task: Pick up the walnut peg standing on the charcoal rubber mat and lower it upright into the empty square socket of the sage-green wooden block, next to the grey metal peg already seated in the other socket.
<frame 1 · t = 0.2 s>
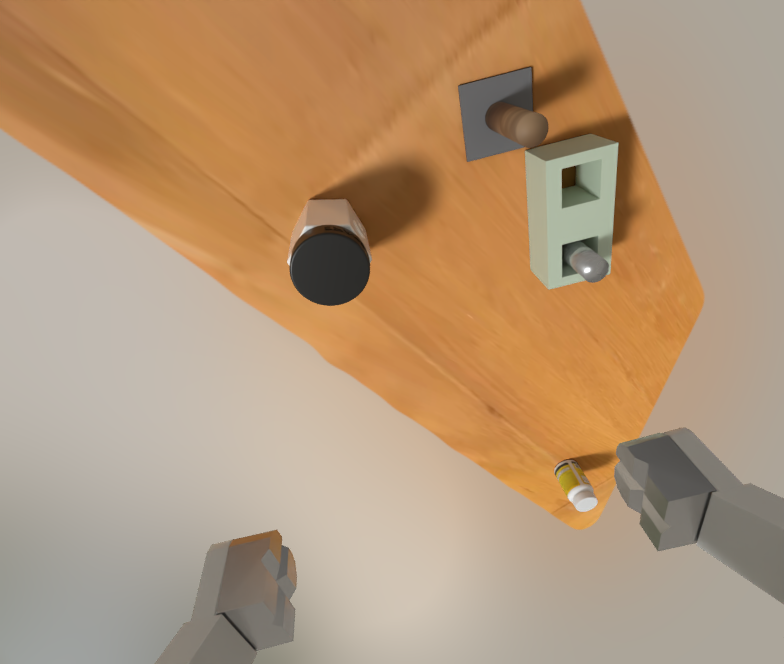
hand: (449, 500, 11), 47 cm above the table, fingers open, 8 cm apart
socket block: (558, 206, 57), on the table
jar: (329, 230, 55), on the table
mat: (497, 116, 51), on the table
supplement bottle: (565, 466, 86), on the table
grey metal peg: (558, 239, 60), resting in socket block
walnut peg: (498, 116, 50), resting on mat
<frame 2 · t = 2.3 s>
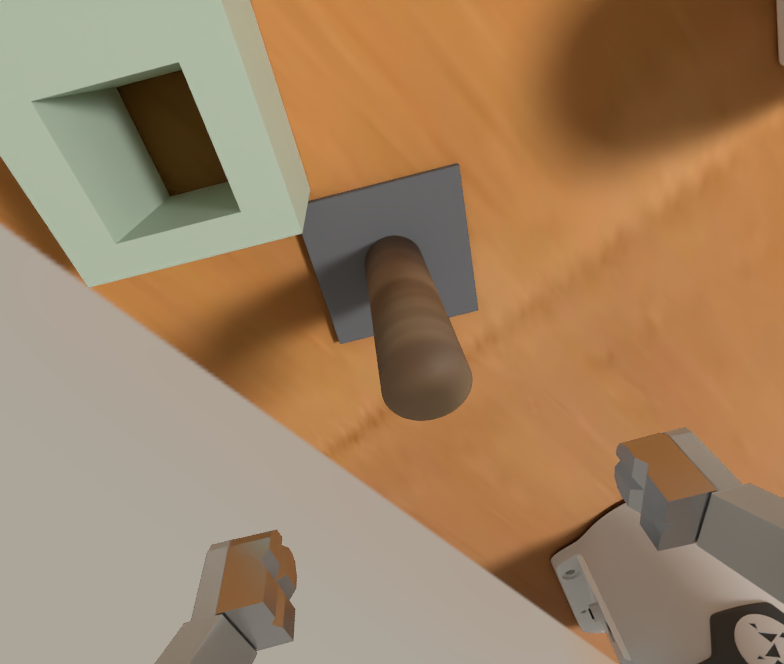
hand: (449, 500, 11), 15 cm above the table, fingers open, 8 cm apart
socket block: (140, 5, 17), on the table
mat: (392, 260, 23), on the table
walnut peg: (393, 263, 23), resting on mat
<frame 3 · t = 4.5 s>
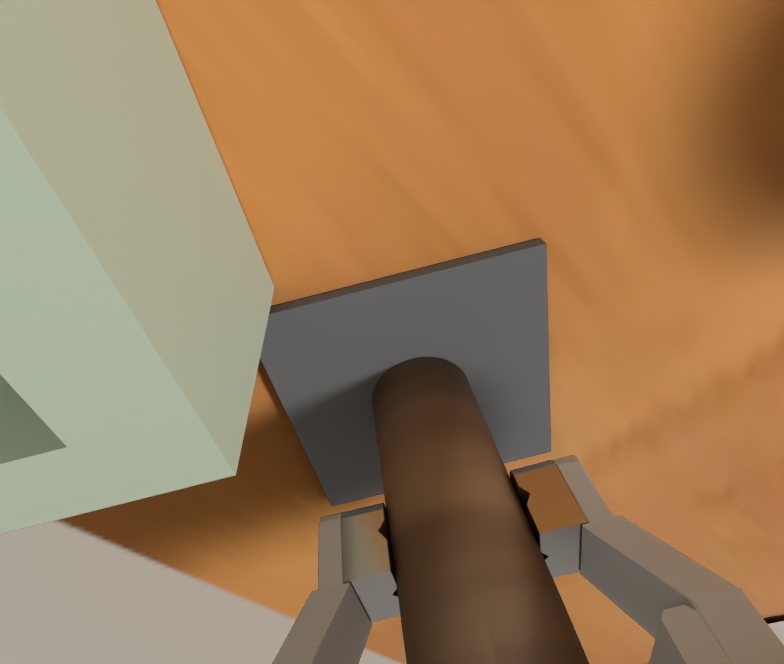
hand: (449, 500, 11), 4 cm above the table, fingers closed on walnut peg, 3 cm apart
mat: (418, 388, 14), on the table
walnut peg: (421, 396, 14), resting on mat, touching gripper
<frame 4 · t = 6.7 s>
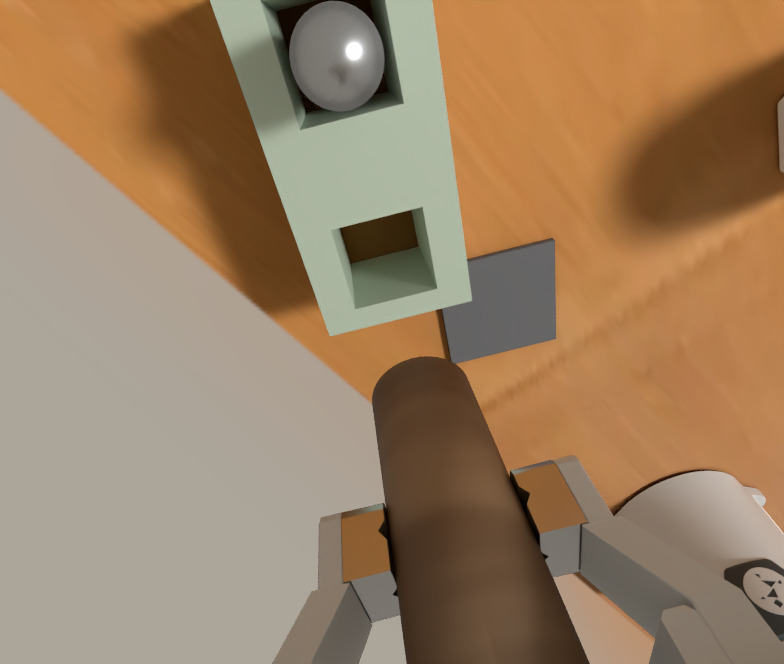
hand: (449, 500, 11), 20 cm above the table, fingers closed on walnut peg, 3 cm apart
socket block: (357, 145, 25), on the table
mat: (497, 304, 32), on the table
grey metal peg: (335, 53, 23), resting in socket block
walnut peg: (421, 396, 14), point 17 cm above the table, touching gripper
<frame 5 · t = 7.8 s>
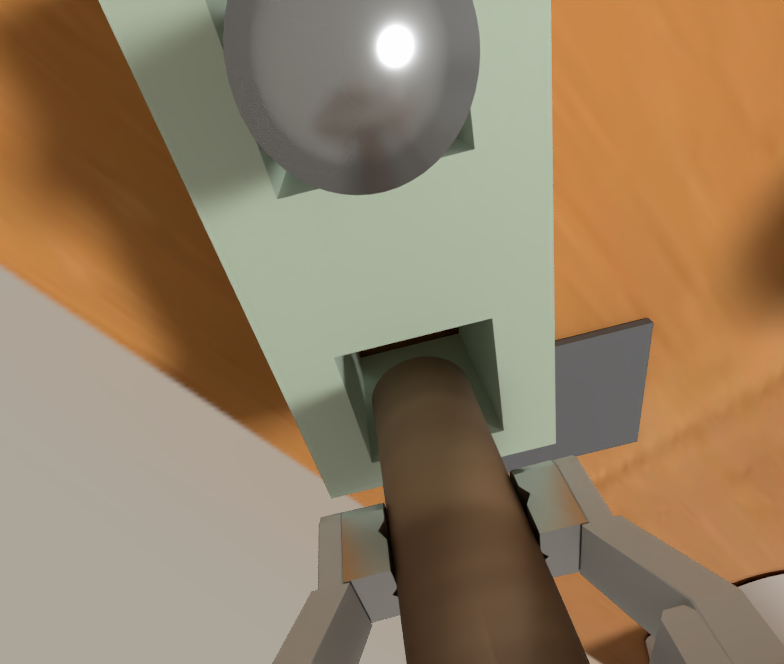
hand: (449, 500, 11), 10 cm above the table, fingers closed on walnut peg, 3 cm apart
socket block: (374, 197, 16), on the table
mat: (563, 401, 23), on the table
grey metal peg: (340, 53, 14), resting in socket block
walnut peg: (421, 396, 14), point 6 cm above the table, touching gripper
when the fingers open (7 cm above the table, at t = 8.9 s): walnut peg drops 3 cm, resting in socket block.
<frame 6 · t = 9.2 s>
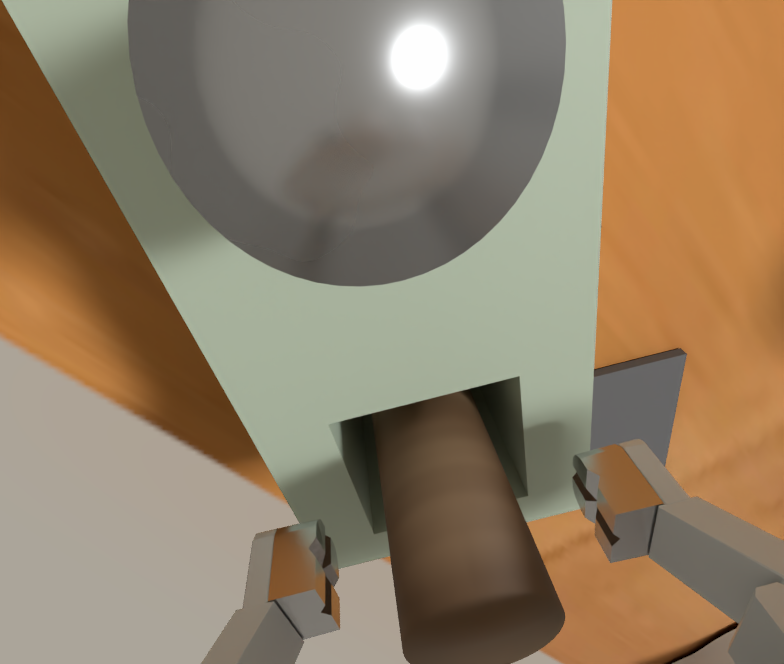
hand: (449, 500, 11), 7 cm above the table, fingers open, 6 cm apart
socket block: (375, 220, 14), on the table
mat: (583, 437, 21), on the table
grey metal peg: (334, 54, 11), resting in socket block
walnut peg: (402, 336, 16), resting in socket block
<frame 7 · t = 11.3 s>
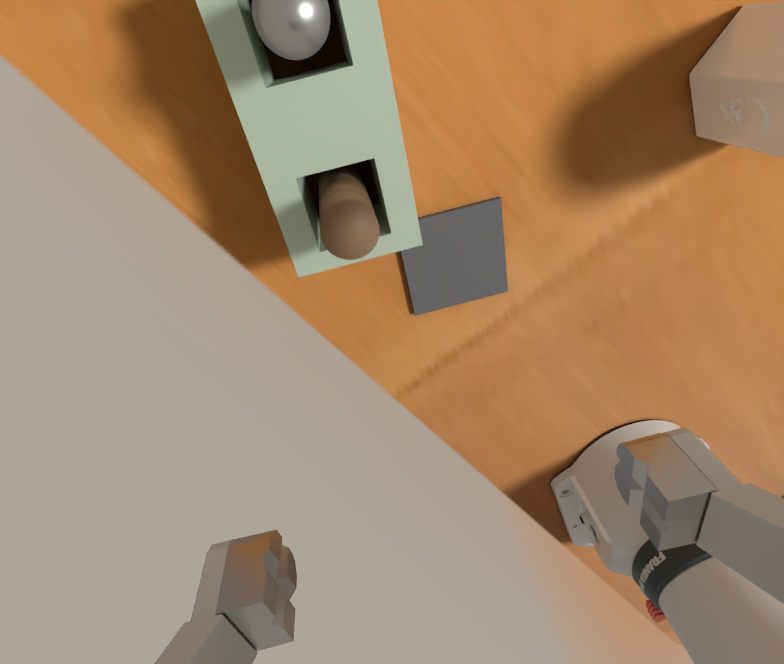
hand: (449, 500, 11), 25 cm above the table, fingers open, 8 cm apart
socket block: (321, 110, 28), on the table
jar: (743, 74, 31), on the table
mat: (453, 258, 35), on the table
grey metal peg: (298, 26, 26), resting in socket block
walnut peg: (340, 181, 31), resting in socket block
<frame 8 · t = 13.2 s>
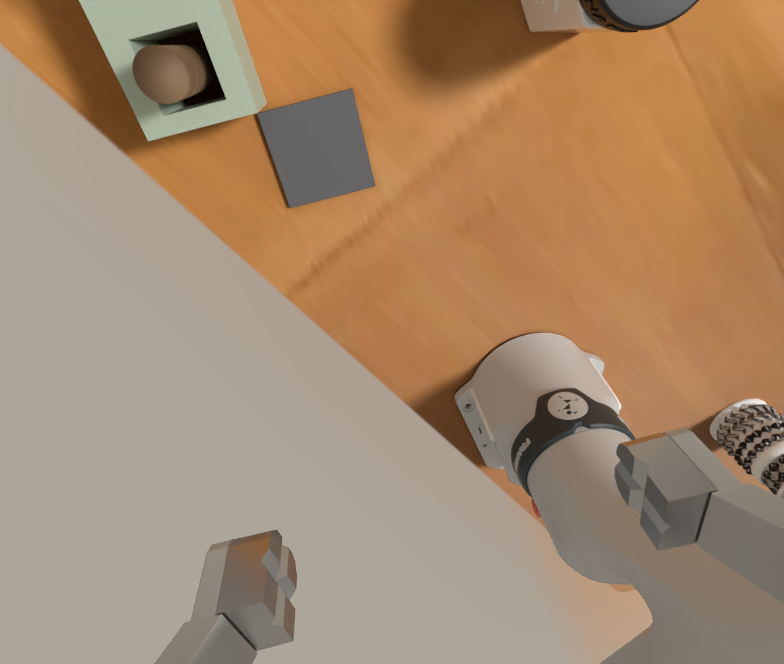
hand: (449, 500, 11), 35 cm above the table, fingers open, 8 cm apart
mat: (319, 151, 39), on the table
walnut peg: (200, 67, 35), resting in socket block
decorative candle: (737, 418, 66), on the table
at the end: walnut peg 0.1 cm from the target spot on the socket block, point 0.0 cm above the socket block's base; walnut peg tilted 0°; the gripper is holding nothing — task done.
